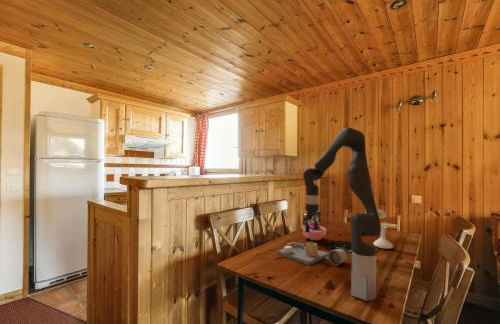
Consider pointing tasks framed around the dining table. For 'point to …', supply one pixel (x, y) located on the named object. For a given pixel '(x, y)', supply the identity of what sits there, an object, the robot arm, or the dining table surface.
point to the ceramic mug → (337, 256)
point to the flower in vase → (382, 233)
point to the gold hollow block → (311, 249)
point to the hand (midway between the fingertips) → (311, 230)
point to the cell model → (314, 232)
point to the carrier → (301, 253)
